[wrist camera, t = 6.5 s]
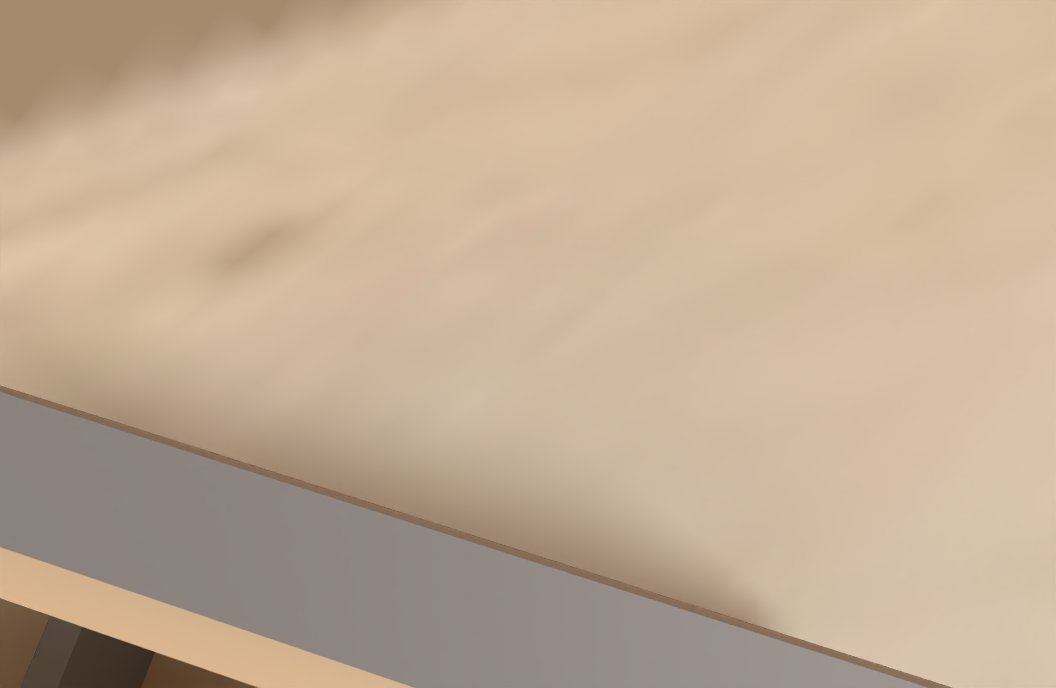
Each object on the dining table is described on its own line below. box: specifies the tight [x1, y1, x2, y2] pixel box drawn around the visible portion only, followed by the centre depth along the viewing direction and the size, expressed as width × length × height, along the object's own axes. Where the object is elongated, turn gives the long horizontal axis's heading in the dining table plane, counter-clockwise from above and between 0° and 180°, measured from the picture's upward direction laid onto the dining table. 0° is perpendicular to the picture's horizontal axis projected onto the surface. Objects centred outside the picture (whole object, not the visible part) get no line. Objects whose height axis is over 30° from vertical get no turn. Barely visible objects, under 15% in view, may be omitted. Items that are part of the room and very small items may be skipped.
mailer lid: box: [0, 386, 951, 688], centre depth 9 cm, size 12×14×1 cm
